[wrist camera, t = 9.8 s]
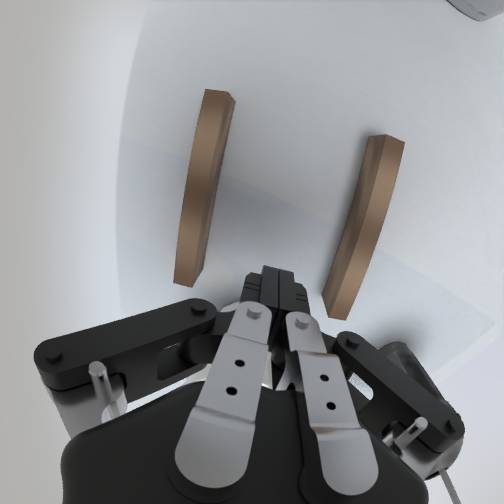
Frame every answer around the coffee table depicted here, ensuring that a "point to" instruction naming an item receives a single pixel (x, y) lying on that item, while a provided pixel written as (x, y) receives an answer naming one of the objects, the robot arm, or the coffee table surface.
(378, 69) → the coffee table surface
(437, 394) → the beverage cup
